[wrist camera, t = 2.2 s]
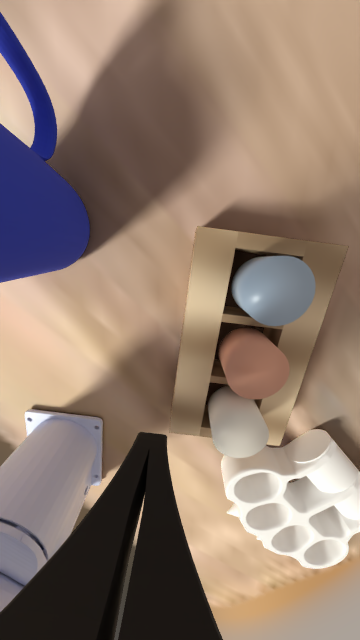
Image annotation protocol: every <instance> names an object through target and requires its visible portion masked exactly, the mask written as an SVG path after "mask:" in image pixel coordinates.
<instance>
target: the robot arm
mask: <svg viewBox="0 0 360 640" xmlns="http://www.w3.org/2000/svg"><path fill="white" fill-rule="evenodd" d="M25 421H26V429H27V438H26V439H25V440H24V441H23V442H22V443H21V444H20V445H19V446H18V448H17V449H16V450H15V451H14V452H13V453H12V454H11V455H10V456H9V458H8V459H7V460H6V461H5V462H4V463H3V464H2V465H1V467H0V640H114V637H115V632H116V626H117V620H118V615H119V609H120V604H121V598H122V593H123V587H124V582H125V576H126V570H127V566H128V561H129V556H130V552H131V548H132V544H133V540H134V536H135V532H136V528H137V524H138V520H139V516H140V511H141V507H142V503H143V499H144V495H145V499H144V506H143V512H142V518H141V523H140V529H139V534H138V539H137V545H136V550H135V556H134V561H133V566H132V571H131V577H130V582H129V587H128V593H127V597H126V602H125V608H124V613H123V619H122V623H121V628H120V633H119V639H118V640H223V639H222V636H221V634H220V632H219V629H218V627H217V624H216V621H215V619H214V617H213V614H212V611H211V609H210V606H209V603H208V601H207V598H206V595H205V593H204V590H203V587H202V584H201V581H200V579H199V576H198V573H197V570H196V567H195V564H194V562H193V559H192V556H191V552H190V549H189V546H188V543H187V540H186V537H185V533H184V530H183V526H182V523H181V519H180V516H179V512H178V508H177V504H176V499H175V495H174V491H173V486H172V481H171V475H170V470H169V463H168V455H167V436H166V435H163V434H154V433H145V432H140V433H138V435H137V437H136V440H135V442H134V444H133V446H132V447H131V449H130V451H129V453H128V455H127V456H126V458H125V460H124V461H123V463H122V465H121V466H120V468H119V469H118V471H117V473H116V474H115V476H114V477H113V479H112V480H111V482H110V483H109V485H108V486H107V487H106V489H105V490H104V492H103V493H102V495H101V496H100V497H99V499H98V500H97V502H96V503H95V504H94V506H93V507H92V508H91V510H90V511H89V512H88V514H87V515H86V516H85V517H84V519H83V520H82V521H81V523H80V524H79V525H78V526H77V527H76V529H75V530H74V531H73V532H72V529H73V527H74V524H75V522H76V520H77V517H78V515H79V513H80V510H81V508H82V506H83V503H84V501H85V498H86V496H87V494H88V491H89V489H90V486H91V485H96V486H97V485H100V483H101V481H102V434H103V421H102V419H101V418H98V417H91V416H83V415H74V414H66V413H58V412H50V411H42V410H34V409H29V410H27V411H26V412H25ZM71 532H72V534H71ZM70 534H71V535H70Z"/></svg>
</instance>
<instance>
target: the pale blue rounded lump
mask: <svg viewBox="0 0 360 640" xmlns="http://www.w3.org/2000/svg"><path fill="white" fill-rule="evenodd" d="M315 288H316V286H315V278H314V275H313V273H312V271H311V269H310V268H309V266H308V265H307V264H306V263H304V262H303V261H302V260H300V259H298V258H295V257H291V256H266V257H256V258H252V259H250V260H248V261H246V262H245V263H243V264H242V265H241V266H240V267H239V268H238V270H237V271H236V273H235V274H234V277H233V280H232V284H231V291H232V296H233V298H234V300H235V302H236V303H237V304H238V306H240V307H241V308H242V309H243V310H244V311H245V312H246V313H248V314H249V315H250V316H251V317H252V318H253V319H255V320H256V321H258V322H259V323H261V324H264V325H268V326H281V325H286V324H289V323H291V322H293V321H295V320H297V319H298V318H299V317H301V316H302V315H303V314H304V313H305V312H306V311H307V309H308V308H309V306H310V305H311V303H312V301H313V298H314V295H315Z"/></svg>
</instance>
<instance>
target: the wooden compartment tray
mask: <svg viewBox="0 0 360 640" xmlns="http://www.w3.org/2000/svg"><path fill="white" fill-rule="evenodd" d="M348 247H349V246H344V245H337V244H329V243H322V242H314V241H307V240H299V239H292V238H284V237H276V236H269V235H261V234H254V233H246V232H239V231H231V230H224V229H216V228H209V227H201V226H197V229H196V232H195V239H194V246H193V254H192V261H191V268H190V276H189V283H188V290H187V298H186V305H185V312H184V320H183V327H182V335H181V342H180V349H179V357H178V364H177V371H176V379H175V386H174V393H173V401H172V408H171V418H170V429H169V433H177V434H185V435H193V436H202V437H210V438H212V432H211V426H210V419H209V412H208V405H205V403H206V398H207V393H208V388H209V382H212V383H220V384H228V382H227V379H226V376H225V373H224V370H223V368H222V365H221V362H220V360H216V359H214V356H215V351H216V346H217V341H218V336H219V330H220V325H221V322H228V323H236V324H244V325H252V326H260V327H265V328H264V331H263V334H264V335H265V336H266V337H267V338H268V339H269V340H270V341H271V342H272V343H273V344H274V345H275V346H276V347H277V348H278V349H279V350H280V351H281V352H283V354H284V355H285V356H286V358H287V360H288V362H289V368H290V370H289V376H288V379H287V381H286V383H285V384H284V386H283V387H282V388H281V389H280V390H279V391H278V392H276V393H275V394H273V395H271V396H269V397H267V398H263V399H254V401H255V403H256V405H257V407H258V409H259V411H260V413H261V415H262V417H263V419H264V421H265V423H266V425H267V427H268V430H269V439H268V442H267V445H275V446H280V444H281V441H282V438H283V435H284V432H285V429H286V427H287V424H288V421H289V418H290V415H291V412H292V409H293V406H294V403H295V400H296V398H297V395H298V392H299V389H300V386H301V383H302V380H303V377H304V374H305V371H306V368H307V366H308V363H309V360H310V357H311V354H312V351H313V348H314V345H315V342H316V339H317V337H318V334H319V331H320V328H321V325H322V322H323V319H324V316H325V313H326V310H327V308H328V305H329V302H330V299H331V296H332V293H333V290H334V287H335V284H336V281H337V279H338V276H339V273H340V270H341V267H342V264H343V261H344V258H345V255H346V252H347V250H348ZM235 251H239V252H247V253H255V254H262V255H270V256H291V257H295V258H298V259H300V260H302V261H303V262H304V263H306V264H307V265H308V266H309V268H310V269H311V271H312V273H313V275H314V278H315V286H316V288H315V295H314V298H313V301H312V303H311V305H310V306H309V308H308V309H307V311H306V312H305V313H304V314H303V315H302V316H301V317H299V318H298V319H297V320H295V321H293V322H291V323H289V324H286V325H281V326H268V325H264V324H261V323H259V322H258V321H256V320H255V319H253V318H252V317H251V316H250V315H249V314H248V313H246V312H245V311H244V310H243V309H242V308H236V307H228V306H224V305H225V299H226V294H227V289H228V284H229V279H230V273H231V268H232V263H233V258H234V253H235ZM228 385H229V384H228Z"/></svg>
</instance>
